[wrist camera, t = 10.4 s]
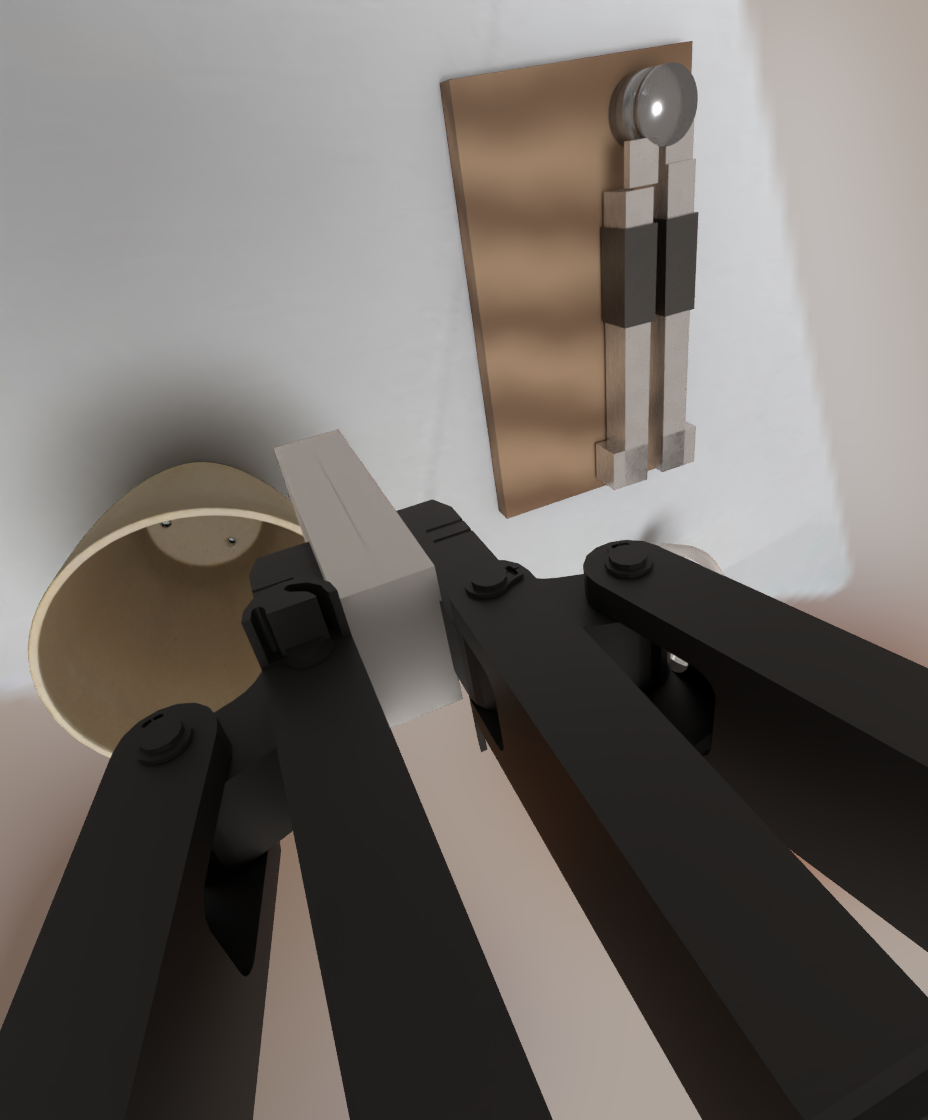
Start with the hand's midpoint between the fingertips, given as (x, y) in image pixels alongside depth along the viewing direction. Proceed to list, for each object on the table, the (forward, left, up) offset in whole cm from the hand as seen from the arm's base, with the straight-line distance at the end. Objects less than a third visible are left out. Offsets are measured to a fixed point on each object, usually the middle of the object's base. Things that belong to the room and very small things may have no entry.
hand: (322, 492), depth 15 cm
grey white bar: (+5, +28, -27) cm, 39 cm away
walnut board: (+5, +23, -28) cm, 37 cm away
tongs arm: (+5, +26, -27) cm, 38 cm away
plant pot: (+12, -6, -29) cm, 32 cm away
